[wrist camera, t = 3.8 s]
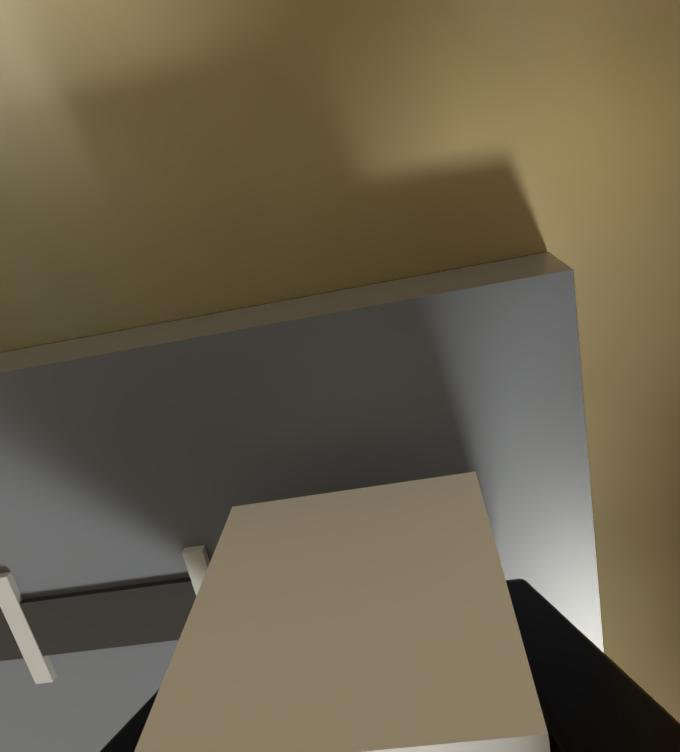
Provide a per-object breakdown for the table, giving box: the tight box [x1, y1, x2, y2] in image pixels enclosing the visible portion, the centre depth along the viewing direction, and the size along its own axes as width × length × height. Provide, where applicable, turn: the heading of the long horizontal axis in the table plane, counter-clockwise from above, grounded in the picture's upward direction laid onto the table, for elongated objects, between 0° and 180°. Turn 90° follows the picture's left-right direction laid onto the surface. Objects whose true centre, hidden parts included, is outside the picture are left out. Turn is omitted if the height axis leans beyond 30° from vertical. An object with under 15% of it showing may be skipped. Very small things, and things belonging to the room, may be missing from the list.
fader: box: [134, 471, 550, 752], centre depth 7 cm, size 3×4×4 cm
